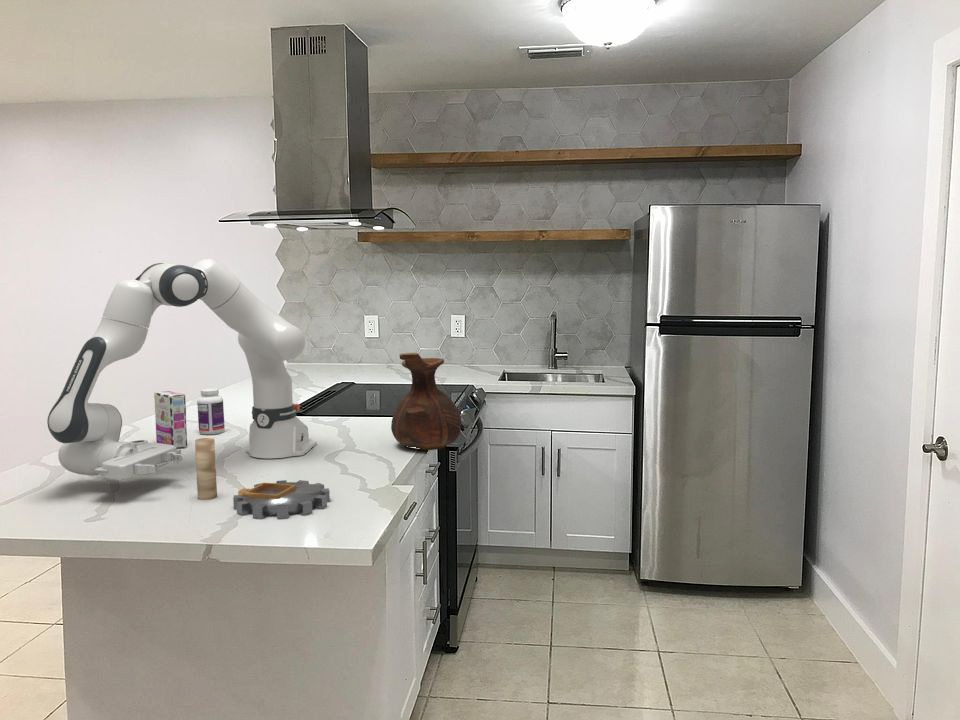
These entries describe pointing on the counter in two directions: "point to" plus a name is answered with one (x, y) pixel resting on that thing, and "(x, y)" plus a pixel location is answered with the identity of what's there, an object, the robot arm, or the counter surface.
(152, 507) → the counter surface
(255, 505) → the sprocket
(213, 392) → the pill bottle
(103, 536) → the counter surface
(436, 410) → the jug
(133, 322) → the robot arm
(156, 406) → the candy bar box
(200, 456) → the drive pin
